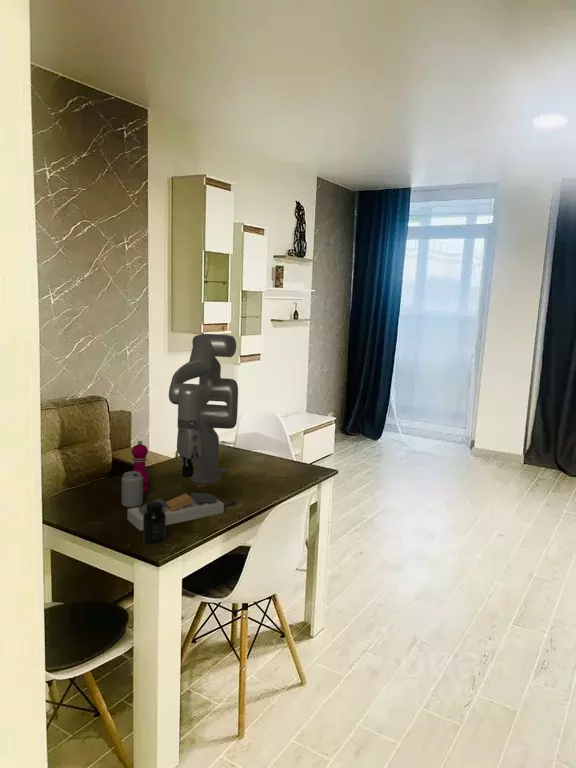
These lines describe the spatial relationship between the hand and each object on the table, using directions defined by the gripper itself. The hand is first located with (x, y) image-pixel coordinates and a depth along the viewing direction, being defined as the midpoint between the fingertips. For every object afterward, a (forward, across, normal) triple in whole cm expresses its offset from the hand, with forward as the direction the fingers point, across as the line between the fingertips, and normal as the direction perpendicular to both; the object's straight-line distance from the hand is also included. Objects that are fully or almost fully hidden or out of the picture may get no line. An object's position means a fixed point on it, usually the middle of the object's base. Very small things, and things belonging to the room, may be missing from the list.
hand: (187, 476), depth 206 cm
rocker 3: (+9, +1, -7) cm, 11 cm away
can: (+15, +20, +12) cm, 28 cm away
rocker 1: (+9, +1, +12) cm, 15 cm away
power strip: (+15, +2, +3) cm, 15 cm away
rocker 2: (+9, +1, +3) cm, 9 cm away
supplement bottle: (+16, -12, +17) cm, 26 cm away
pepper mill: (+15, +33, +4) cm, 36 cm away
